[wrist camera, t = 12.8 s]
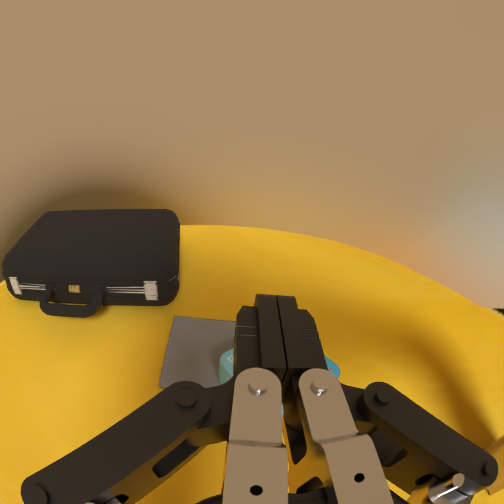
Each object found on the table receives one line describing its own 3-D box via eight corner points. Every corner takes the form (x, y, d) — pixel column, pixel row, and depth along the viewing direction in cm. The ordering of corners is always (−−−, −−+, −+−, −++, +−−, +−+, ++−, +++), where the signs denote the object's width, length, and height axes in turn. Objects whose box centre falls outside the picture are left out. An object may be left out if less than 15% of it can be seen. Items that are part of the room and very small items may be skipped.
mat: (293, 395, 33) (294, 394, 33) (159, 387, 31) (158, 385, 31) (281, 325, 45) (282, 324, 45) (174, 317, 43) (174, 315, 43)
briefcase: (-4, 327, 30) (-25, 282, 26) (49, 242, 57) (43, 207, 52) (180, 341, 40) (178, 290, 35) (179, 242, 66) (180, 204, 61)
